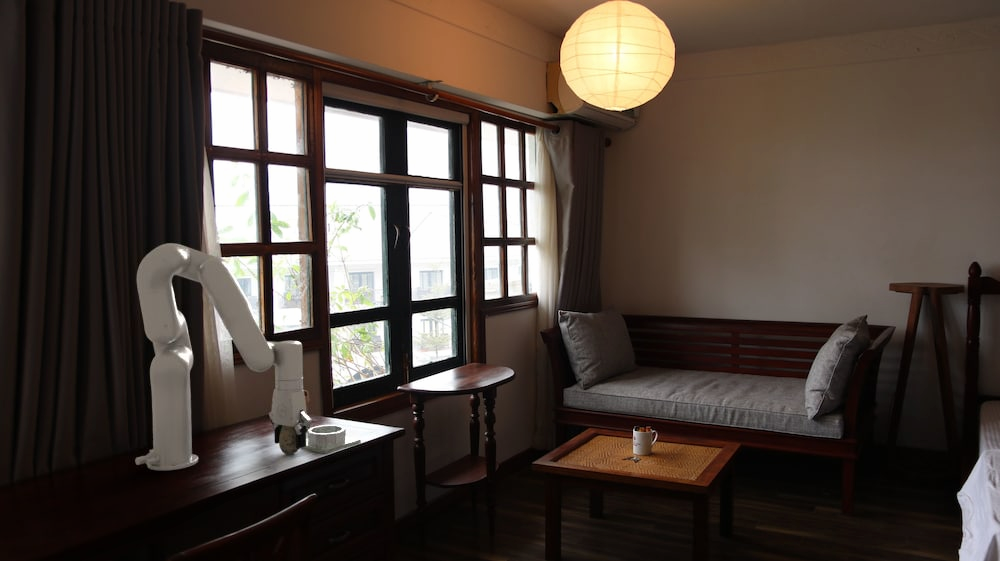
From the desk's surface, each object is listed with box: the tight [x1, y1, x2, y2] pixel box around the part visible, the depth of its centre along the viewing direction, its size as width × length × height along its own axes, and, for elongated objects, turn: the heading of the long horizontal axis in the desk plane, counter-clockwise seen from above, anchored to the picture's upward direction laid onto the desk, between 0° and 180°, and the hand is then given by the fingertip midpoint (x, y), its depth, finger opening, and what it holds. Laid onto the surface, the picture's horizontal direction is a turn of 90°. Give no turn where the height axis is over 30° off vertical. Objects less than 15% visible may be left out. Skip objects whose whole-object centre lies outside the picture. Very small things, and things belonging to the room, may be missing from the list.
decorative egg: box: [278, 426, 299, 456], centre depth 204 cm, size 6×6×10 cm
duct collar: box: [301, 424, 362, 454], centre depth 214 cm, size 14×14×4 cm
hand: (290, 444), depth 204 cm, fingers open, 8 cm apart
